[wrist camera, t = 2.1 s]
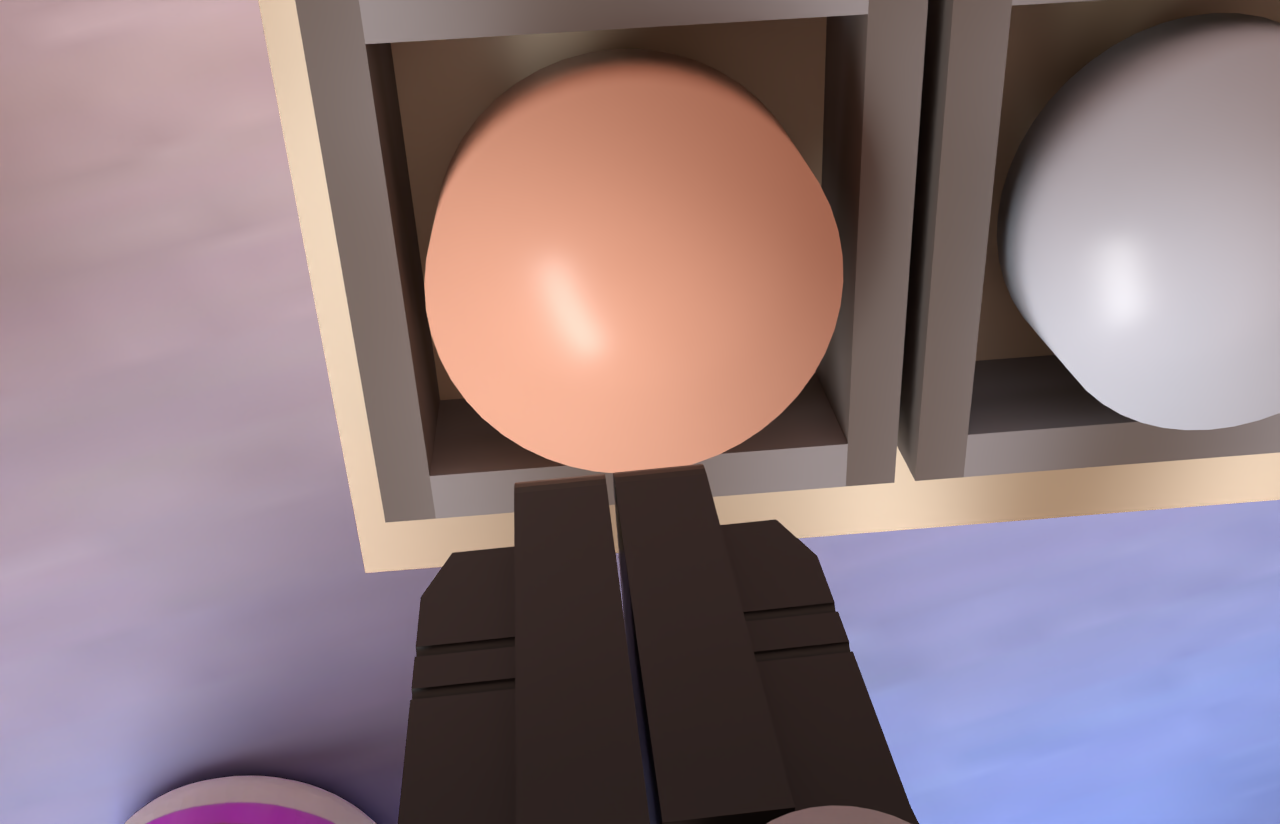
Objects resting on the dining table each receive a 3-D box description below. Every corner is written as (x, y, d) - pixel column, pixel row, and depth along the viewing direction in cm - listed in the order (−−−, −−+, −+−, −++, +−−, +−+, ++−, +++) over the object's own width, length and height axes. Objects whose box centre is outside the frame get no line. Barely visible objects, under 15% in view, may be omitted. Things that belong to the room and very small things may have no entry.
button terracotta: (818, 36, 15) (851, 70, 13) (808, 393, 17) (835, 458, 16) (410, 60, 15) (396, 99, 13) (458, 419, 17) (450, 488, 16)
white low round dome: (1406, 0, 15) (1505, 31, 14) (1316, 355, 18) (1392, 415, 16) (1018, 25, 15) (1074, 58, 14) (979, 381, 18) (1024, 444, 16)
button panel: (1903, -339, 18) (2366, -364, 13) (1620, 382, 24) (1877, 533, 19) (259, -260, 17) (159, -261, 12) (384, 477, 23) (347, 660, 18)
